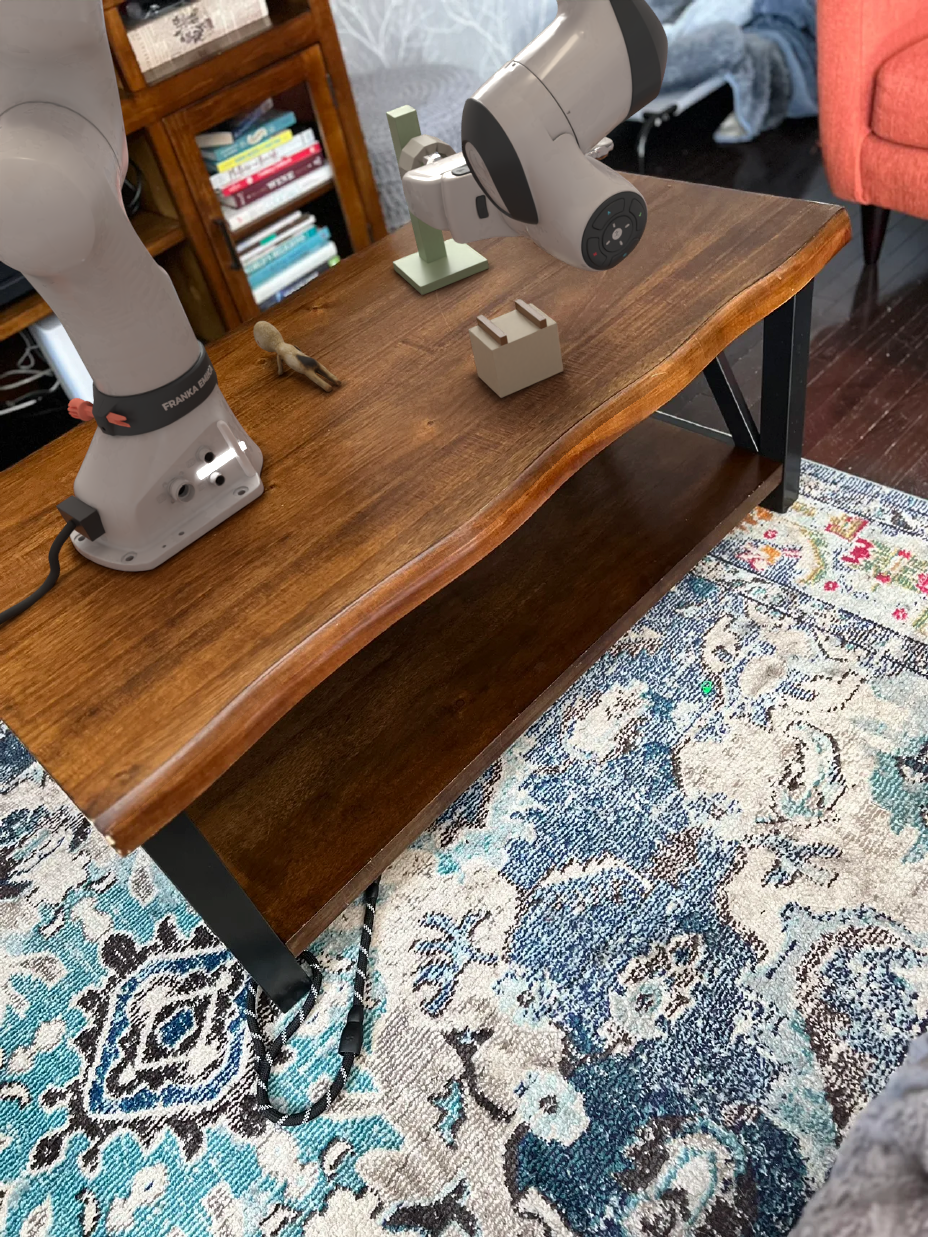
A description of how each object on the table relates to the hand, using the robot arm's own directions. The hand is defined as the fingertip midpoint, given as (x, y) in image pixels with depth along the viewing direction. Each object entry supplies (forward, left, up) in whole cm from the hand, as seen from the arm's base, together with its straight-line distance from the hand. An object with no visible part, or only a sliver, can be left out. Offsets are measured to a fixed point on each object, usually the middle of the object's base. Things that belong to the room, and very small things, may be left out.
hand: (469, 147), depth 102 cm
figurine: (-17, +19, -21) cm, 33 cm away
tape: (+9, +14, -7) cm, 17 cm away
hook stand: (+10, +16, -21) cm, 28 cm away
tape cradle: (-8, -8, -21) cm, 24 cm away
